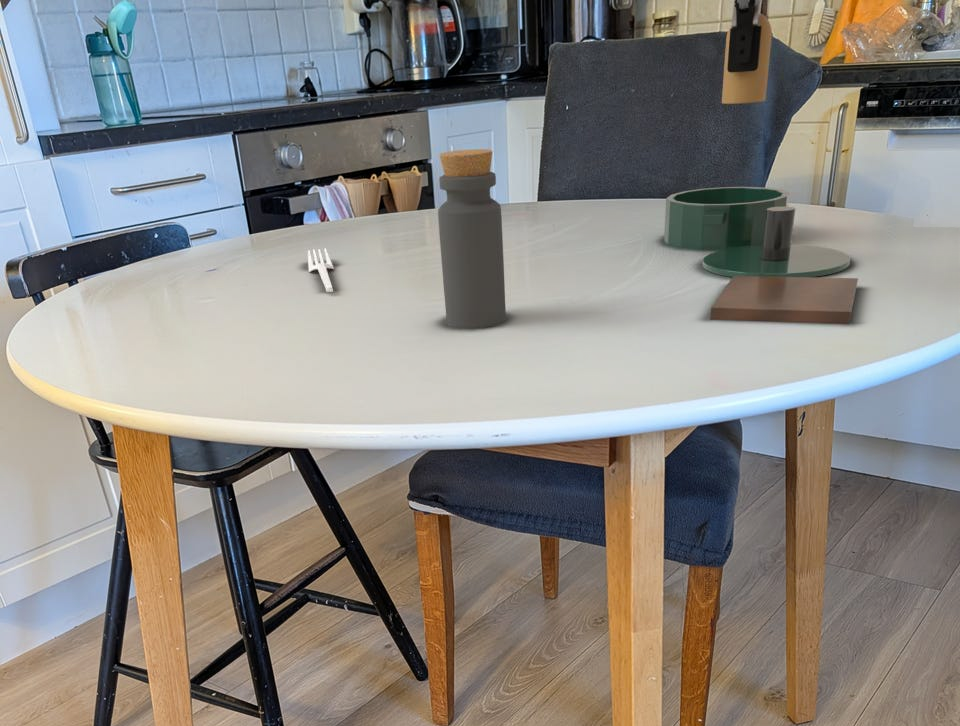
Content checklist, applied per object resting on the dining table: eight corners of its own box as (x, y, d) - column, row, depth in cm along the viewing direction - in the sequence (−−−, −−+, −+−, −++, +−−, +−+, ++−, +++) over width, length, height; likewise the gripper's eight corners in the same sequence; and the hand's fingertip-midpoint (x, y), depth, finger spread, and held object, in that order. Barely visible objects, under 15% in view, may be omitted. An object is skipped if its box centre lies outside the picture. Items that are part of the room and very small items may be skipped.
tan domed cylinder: (768, 99, 100) (776, 9, 96) (762, 102, 97) (771, 9, 92) (725, 101, 102) (732, 13, 97) (718, 104, 98) (724, 13, 94)
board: (855, 294, 86) (858, 278, 86) (848, 329, 77) (851, 311, 76) (731, 291, 91) (733, 275, 90) (709, 324, 81) (711, 307, 80)
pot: (790, 228, 117) (796, 182, 114) (772, 260, 101) (778, 208, 98) (681, 228, 122) (684, 184, 119) (648, 258, 106) (650, 209, 103)
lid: (852, 255, 101) (861, 196, 97) (844, 287, 89) (854, 221, 85) (714, 254, 106) (719, 198, 103) (690, 284, 94) (694, 221, 91)
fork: (316, 297, 101) (313, 279, 99) (307, 265, 117) (304, 250, 116) (344, 293, 101) (342, 276, 100) (331, 262, 117) (329, 247, 116)
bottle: (514, 318, 87) (507, 147, 79) (494, 334, 82) (484, 154, 74) (460, 316, 89) (448, 149, 81) (437, 332, 84) (422, 156, 76)
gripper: (794, -166, 80) (771, 71, 90) (811, -140, 93) (789, 65, 103) (711, -152, 82) (697, 76, 92) (739, -129, 95) (724, 69, 105)
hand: (746, 68), depth 97 cm, fingers closed on tan domed cylinder, 4 cm apart
